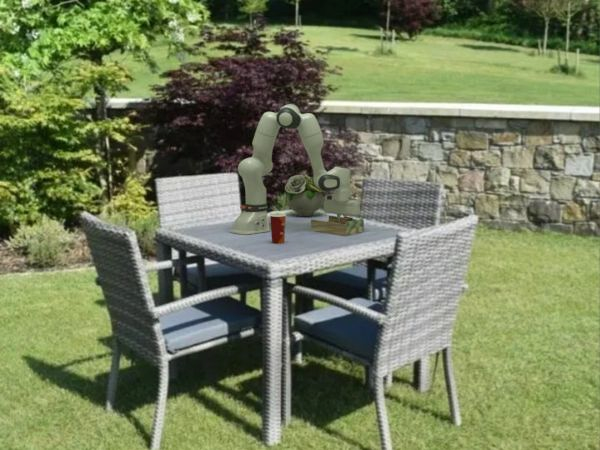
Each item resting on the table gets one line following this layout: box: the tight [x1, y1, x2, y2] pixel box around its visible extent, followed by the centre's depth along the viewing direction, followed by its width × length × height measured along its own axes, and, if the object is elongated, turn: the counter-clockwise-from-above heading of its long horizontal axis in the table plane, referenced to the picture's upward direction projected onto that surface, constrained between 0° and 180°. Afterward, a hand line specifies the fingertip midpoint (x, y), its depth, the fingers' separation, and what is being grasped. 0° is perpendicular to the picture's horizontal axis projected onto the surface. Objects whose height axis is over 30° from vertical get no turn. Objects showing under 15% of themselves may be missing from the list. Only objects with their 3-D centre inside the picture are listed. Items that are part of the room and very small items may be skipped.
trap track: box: [310, 215, 365, 237], centre depth 401 cm, size 16×23×7 cm
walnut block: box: [341, 216, 354, 224], centre depth 399 cm, size 4×4×4 cm
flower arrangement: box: [284, 174, 326, 217], centre depth 447 cm, size 25×25×24 cm
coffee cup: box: [269, 210, 287, 245], centre depth 373 cm, size 8×8×15 cm
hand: (341, 222), depth 403 cm, fingers closed
